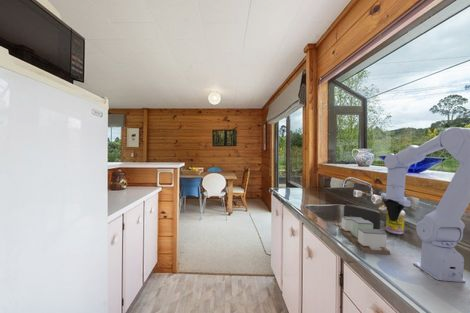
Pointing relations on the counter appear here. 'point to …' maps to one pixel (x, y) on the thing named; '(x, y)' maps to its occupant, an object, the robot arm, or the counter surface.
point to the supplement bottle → (396, 224)
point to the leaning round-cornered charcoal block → (363, 214)
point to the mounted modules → (365, 233)
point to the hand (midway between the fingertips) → (393, 220)
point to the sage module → (360, 226)
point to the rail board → (363, 248)
